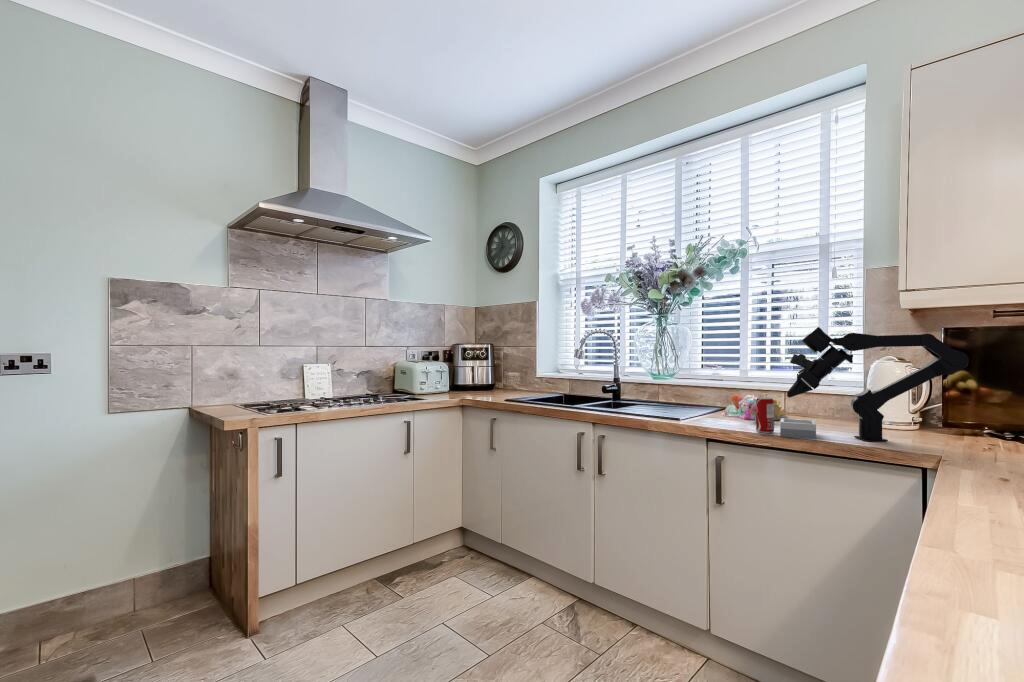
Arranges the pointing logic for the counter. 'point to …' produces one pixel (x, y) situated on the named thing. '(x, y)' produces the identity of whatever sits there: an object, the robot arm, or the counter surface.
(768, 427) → the soda can
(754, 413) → the cupcake
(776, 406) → the colorful dessert platter
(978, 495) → the counter surface
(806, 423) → the socket block
